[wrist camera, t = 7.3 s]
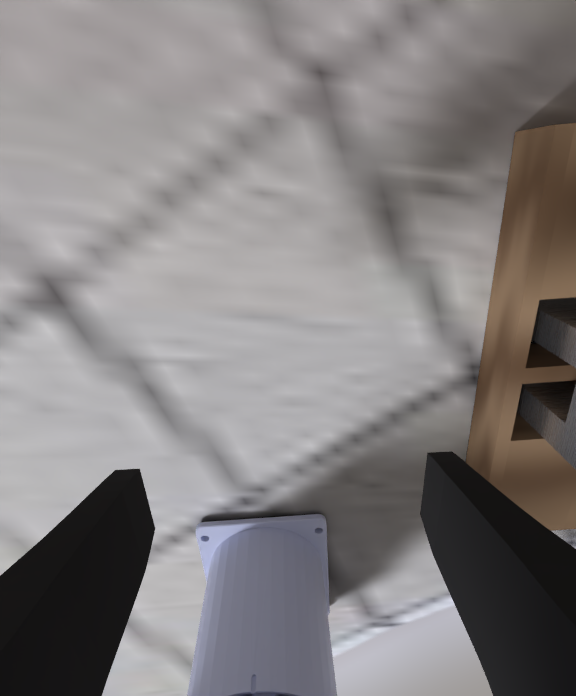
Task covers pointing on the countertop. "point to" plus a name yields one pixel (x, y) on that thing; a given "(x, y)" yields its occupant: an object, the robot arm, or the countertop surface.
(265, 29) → the countertop surface
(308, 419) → the countertop surface
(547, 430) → the brushed metal block
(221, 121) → the countertop surface
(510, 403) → the rail
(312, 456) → the countertop surface
